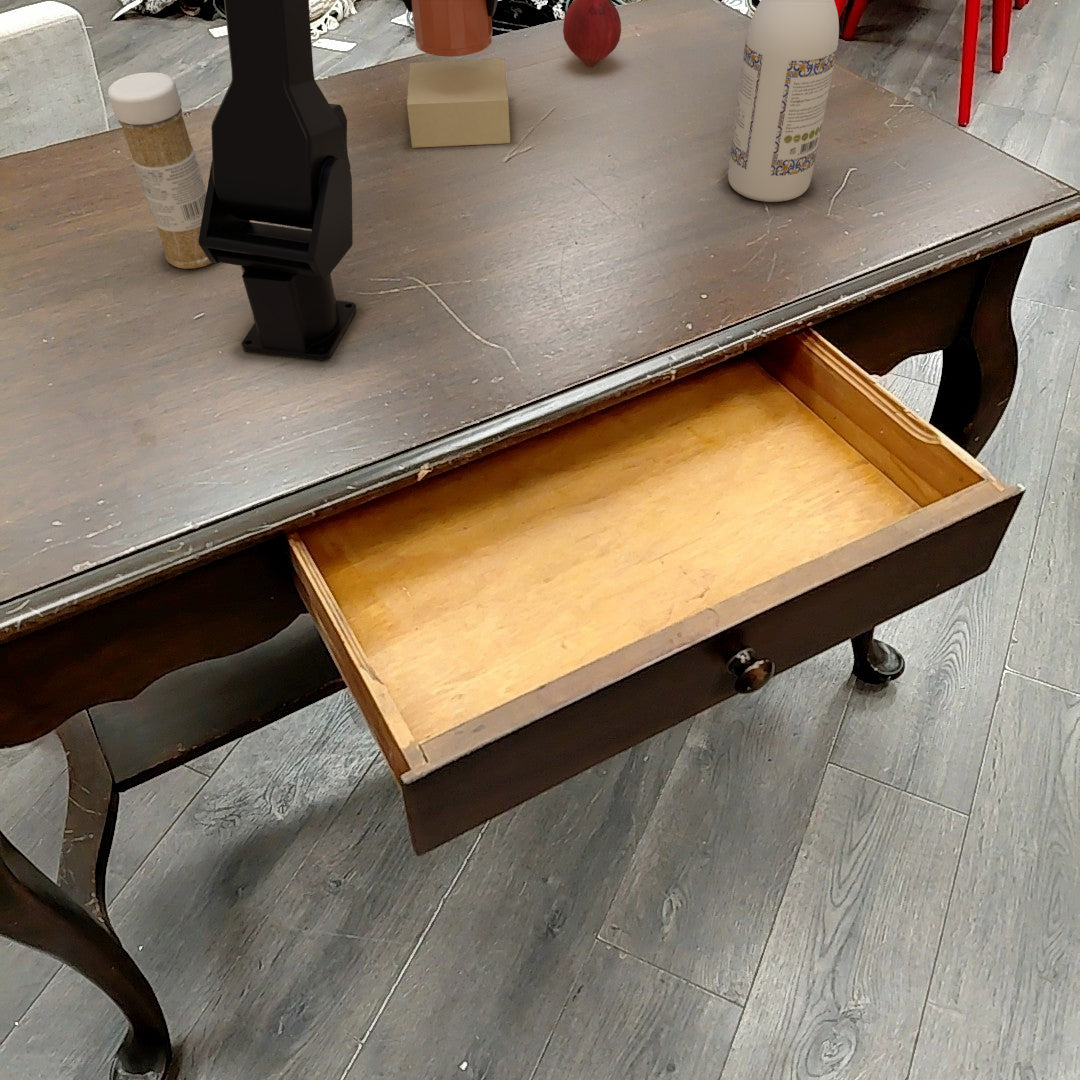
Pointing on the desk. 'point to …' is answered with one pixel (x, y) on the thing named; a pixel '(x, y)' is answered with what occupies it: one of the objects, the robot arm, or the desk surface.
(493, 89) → the stand
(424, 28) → the cup
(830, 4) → the bath foam
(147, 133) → the sprinkles bottle
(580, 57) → the onion
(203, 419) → the desk surface
